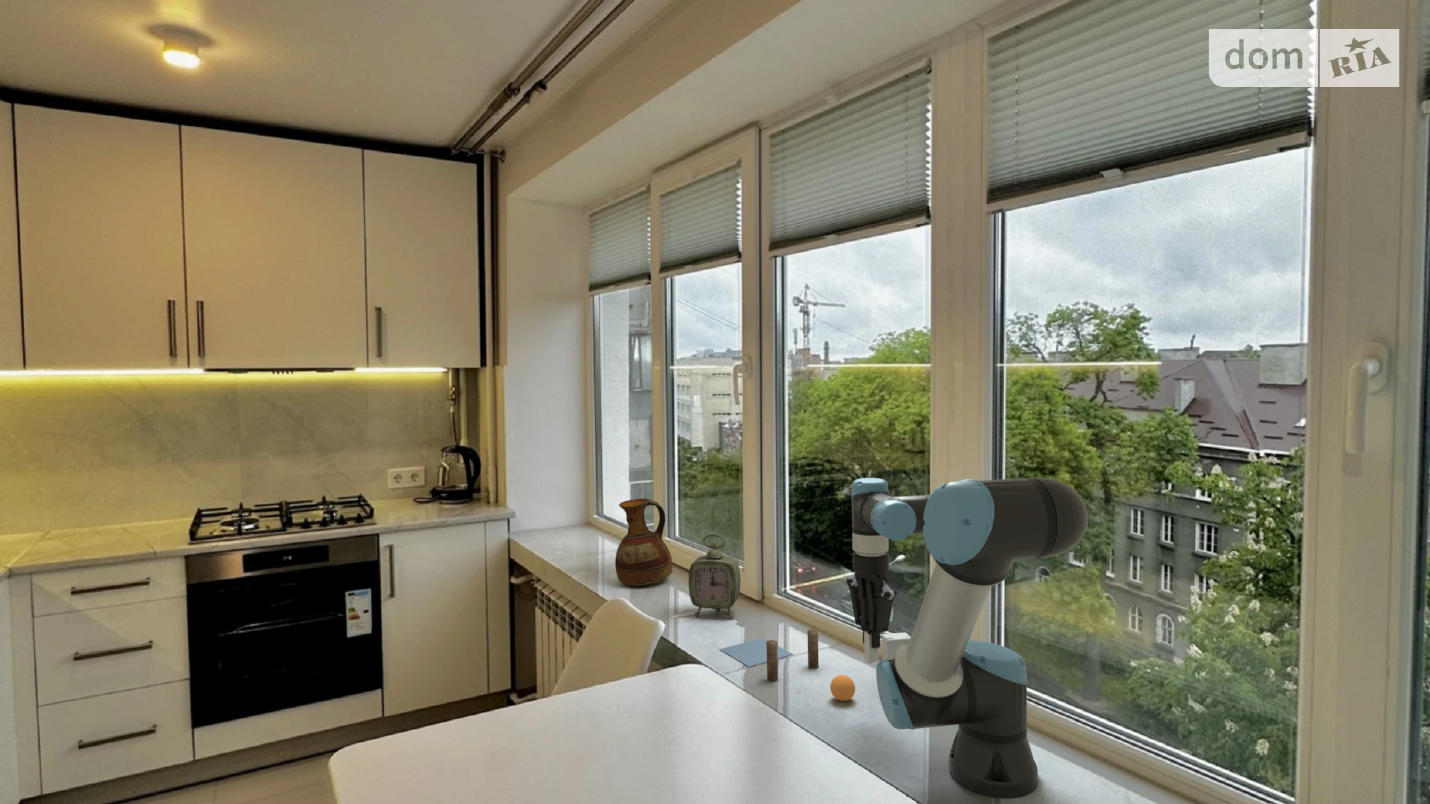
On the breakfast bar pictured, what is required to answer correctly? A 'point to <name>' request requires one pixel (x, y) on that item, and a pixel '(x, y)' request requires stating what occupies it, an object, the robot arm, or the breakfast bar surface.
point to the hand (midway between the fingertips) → (871, 661)
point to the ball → (842, 687)
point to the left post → (772, 660)
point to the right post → (813, 649)
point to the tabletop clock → (714, 580)
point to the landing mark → (752, 652)
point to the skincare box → (892, 644)
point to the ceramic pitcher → (642, 547)
